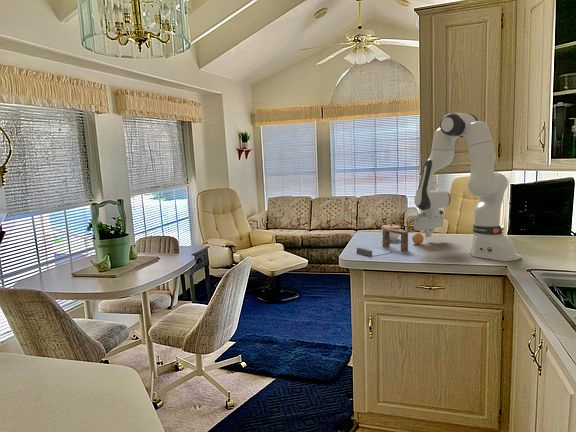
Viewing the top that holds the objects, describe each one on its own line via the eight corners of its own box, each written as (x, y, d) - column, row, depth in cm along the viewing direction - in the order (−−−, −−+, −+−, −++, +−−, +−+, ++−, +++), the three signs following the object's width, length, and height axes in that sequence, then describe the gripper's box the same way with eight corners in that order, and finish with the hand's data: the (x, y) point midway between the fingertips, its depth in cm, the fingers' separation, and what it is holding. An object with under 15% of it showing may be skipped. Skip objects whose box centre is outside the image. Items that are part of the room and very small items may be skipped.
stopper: (372, 255, 213) (372, 250, 212) (368, 256, 212) (368, 251, 211) (359, 252, 220) (359, 247, 220) (356, 252, 219) (356, 247, 219)
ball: (425, 244, 235) (426, 233, 234) (418, 245, 232) (418, 234, 231) (417, 242, 240) (417, 231, 239) (409, 243, 237) (409, 233, 236)
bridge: (386, 245, 234) (386, 227, 233) (407, 250, 221) (408, 231, 220) (382, 246, 232) (382, 228, 231) (403, 251, 220) (403, 232, 218)
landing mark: (392, 252, 218) (392, 252, 218) (374, 256, 212) (374, 255, 211) (375, 248, 228) (375, 248, 228) (357, 251, 222) (357, 251, 222)
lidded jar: (393, 242, 242) (393, 225, 241) (377, 239, 250) (377, 223, 249) (404, 239, 249) (404, 223, 248) (388, 236, 257) (389, 221, 256)
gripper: (420, 214, 230) (420, 240, 232) (446, 211, 241) (445, 235, 243) (411, 213, 235) (410, 238, 237) (436, 209, 246) (435, 233, 248)
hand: (428, 236), depth 240 cm, fingers closed
